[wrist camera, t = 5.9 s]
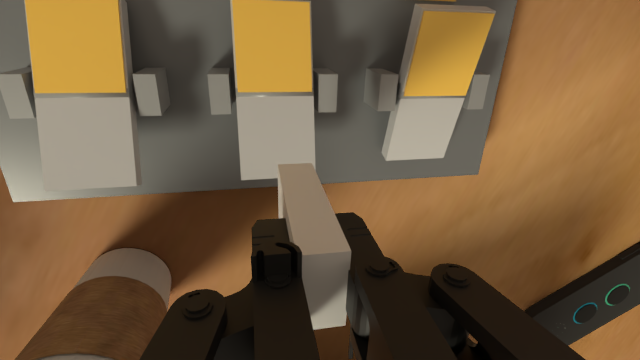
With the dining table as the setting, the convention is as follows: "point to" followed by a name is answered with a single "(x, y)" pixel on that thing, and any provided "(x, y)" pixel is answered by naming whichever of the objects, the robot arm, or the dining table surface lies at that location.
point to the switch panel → (220, 96)
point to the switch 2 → (273, 84)
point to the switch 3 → (434, 78)
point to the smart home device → (591, 298)
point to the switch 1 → (84, 93)
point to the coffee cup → (107, 311)
